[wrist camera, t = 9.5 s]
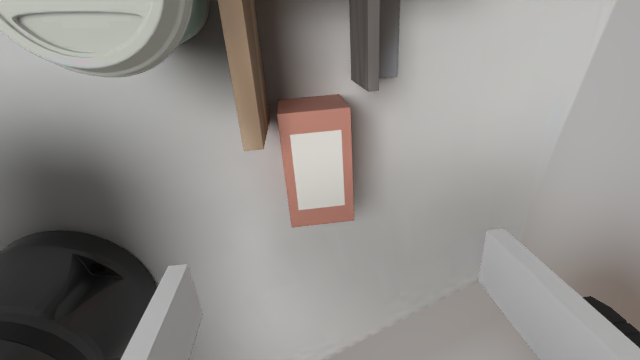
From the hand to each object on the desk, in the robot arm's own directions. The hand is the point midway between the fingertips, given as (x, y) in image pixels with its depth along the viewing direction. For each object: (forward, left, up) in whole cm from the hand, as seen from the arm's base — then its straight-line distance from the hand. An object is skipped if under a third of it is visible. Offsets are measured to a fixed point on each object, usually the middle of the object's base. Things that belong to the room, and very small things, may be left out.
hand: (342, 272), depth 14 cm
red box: (0, 0, -17) cm, 17 cm away
